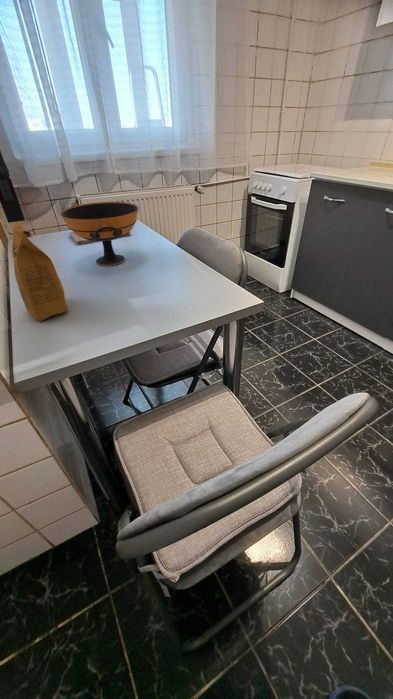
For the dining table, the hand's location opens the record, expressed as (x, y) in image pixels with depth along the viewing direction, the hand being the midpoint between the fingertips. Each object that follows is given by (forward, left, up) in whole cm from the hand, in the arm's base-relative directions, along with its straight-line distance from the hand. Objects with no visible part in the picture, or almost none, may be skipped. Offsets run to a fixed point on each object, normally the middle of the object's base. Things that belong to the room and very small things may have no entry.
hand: (13, 214), depth 56 cm
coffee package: (0, +12, -27) cm, 29 cm away
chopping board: (+32, +74, -26) cm, 85 cm away
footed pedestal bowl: (+26, +39, -27) cm, 54 cm away
